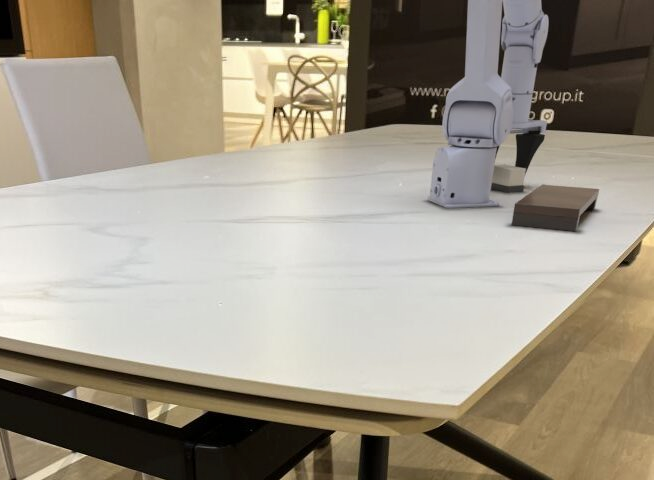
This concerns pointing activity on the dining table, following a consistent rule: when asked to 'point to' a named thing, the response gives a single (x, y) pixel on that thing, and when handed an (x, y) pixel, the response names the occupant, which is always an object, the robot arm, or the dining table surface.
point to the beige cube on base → (508, 178)
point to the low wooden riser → (554, 207)
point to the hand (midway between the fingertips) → (503, 177)
